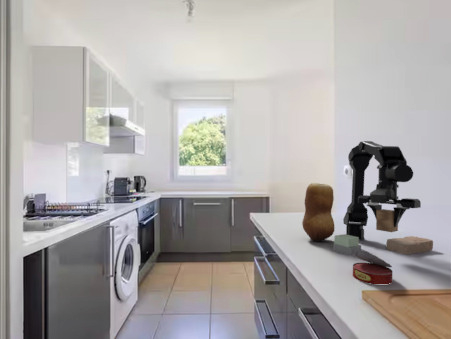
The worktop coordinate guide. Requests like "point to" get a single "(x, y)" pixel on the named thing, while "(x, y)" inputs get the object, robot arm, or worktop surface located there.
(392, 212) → the tan rectangular prism
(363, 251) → the canned food
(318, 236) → the butternut squash
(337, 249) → the base block
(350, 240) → the top block
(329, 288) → the worktop surface
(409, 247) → the brick
